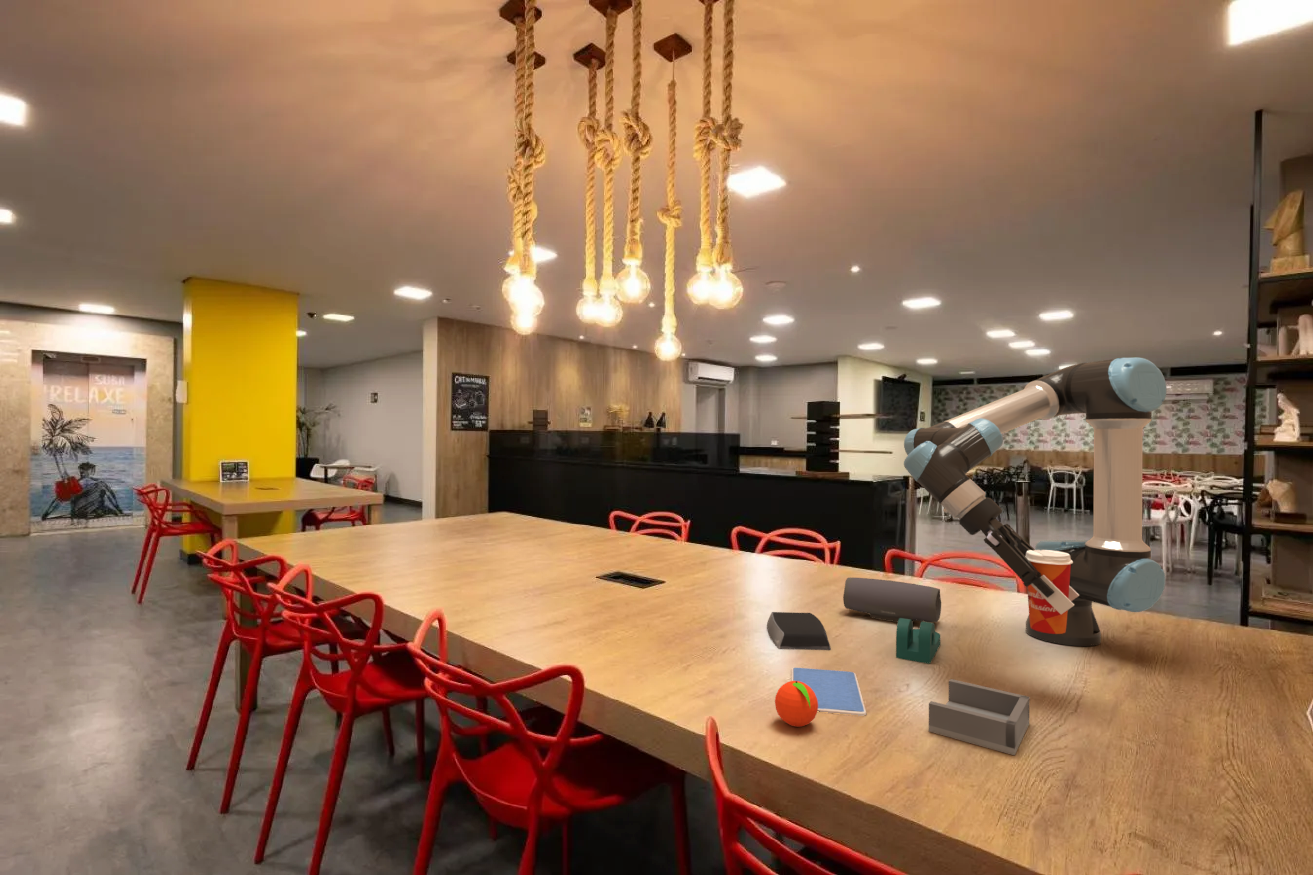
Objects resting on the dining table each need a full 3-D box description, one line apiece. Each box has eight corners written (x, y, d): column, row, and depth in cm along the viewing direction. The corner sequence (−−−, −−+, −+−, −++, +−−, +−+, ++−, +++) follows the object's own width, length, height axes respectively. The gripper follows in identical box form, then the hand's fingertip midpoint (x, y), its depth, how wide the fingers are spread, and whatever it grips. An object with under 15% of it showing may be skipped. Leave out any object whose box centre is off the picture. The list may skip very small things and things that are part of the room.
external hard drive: (774, 651, 141) (774, 632, 141) (764, 625, 161) (764, 609, 161) (834, 652, 141) (834, 634, 141) (816, 626, 160) (816, 610, 160)
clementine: (829, 734, 101) (830, 689, 101) (790, 739, 99) (791, 694, 99) (804, 713, 109) (804, 671, 109) (767, 718, 107) (767, 675, 107)
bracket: (929, 664, 133) (930, 627, 133) (896, 658, 136) (896, 622, 136) (942, 641, 148) (942, 607, 148) (911, 636, 152) (911, 603, 152)
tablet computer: (867, 720, 107) (867, 712, 107) (790, 712, 110) (790, 705, 110) (855, 678, 126) (855, 671, 126) (791, 672, 129) (791, 666, 129)
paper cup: (1014, 623, 120) (1014, 549, 120) (1052, 622, 120) (1052, 548, 120) (1042, 636, 112) (1043, 557, 112) (1083, 635, 113) (1084, 556, 112)
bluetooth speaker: (941, 622, 163) (941, 583, 163) (935, 631, 155) (935, 590, 155) (852, 608, 175) (852, 572, 175) (842, 616, 168) (842, 578, 168)
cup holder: (1029, 723, 105) (1029, 696, 105) (1014, 755, 95) (1014, 725, 95) (950, 704, 113) (950, 678, 113) (928, 731, 102) (928, 703, 102)
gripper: (969, 515, 134) (1060, 604, 124) (943, 526, 118) (1045, 630, 108) (997, 491, 130) (1093, 581, 120) (974, 499, 114) (1082, 604, 104)
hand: (1070, 604), depth 114 cm, fingers closed on paper cup, 8 cm apart
